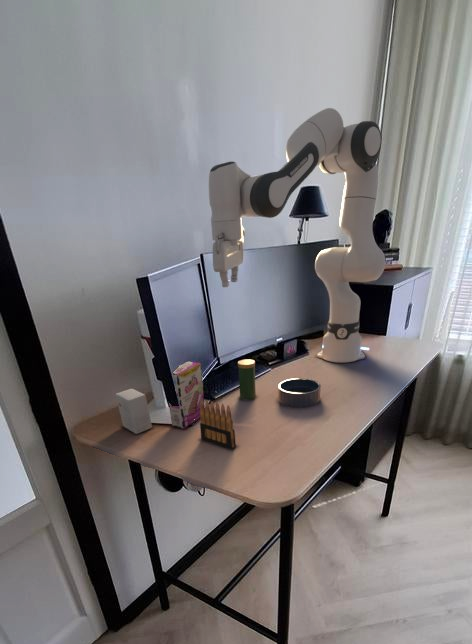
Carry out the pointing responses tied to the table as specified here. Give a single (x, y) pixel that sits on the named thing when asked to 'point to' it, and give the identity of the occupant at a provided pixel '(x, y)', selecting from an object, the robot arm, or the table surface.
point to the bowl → (299, 392)
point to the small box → (134, 410)
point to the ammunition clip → (217, 425)
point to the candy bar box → (187, 394)
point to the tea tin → (247, 379)
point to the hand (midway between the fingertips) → (230, 284)
